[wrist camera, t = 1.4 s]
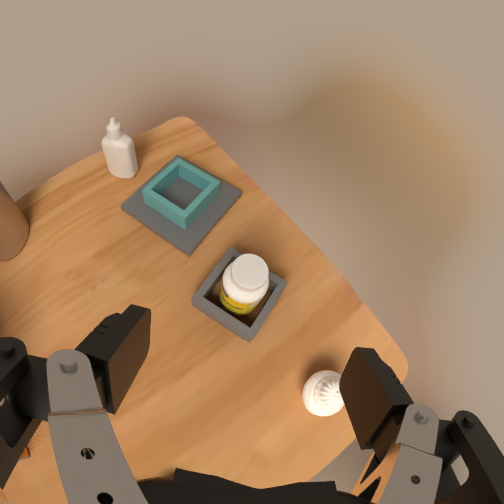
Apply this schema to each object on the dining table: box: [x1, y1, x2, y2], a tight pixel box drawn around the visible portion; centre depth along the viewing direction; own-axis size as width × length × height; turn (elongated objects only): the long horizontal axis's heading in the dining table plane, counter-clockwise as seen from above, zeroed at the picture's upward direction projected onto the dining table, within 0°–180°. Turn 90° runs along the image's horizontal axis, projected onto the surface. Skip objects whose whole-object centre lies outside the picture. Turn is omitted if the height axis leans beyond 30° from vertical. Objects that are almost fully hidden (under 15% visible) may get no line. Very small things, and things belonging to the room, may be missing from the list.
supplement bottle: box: [219, 254, 269, 316], centre depth 34 cm, size 5×5×10 cm
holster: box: [192, 247, 288, 342], centre depth 37 cm, size 9×9×3 cm
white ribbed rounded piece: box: [302, 370, 344, 416], centre depth 30 cm, size 6×6×7 cm
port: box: [121, 155, 242, 257], centre depth 42 cm, size 14×14×4 cm
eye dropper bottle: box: [102, 117, 138, 178], centre depth 39 cm, size 4×6×12 cm
